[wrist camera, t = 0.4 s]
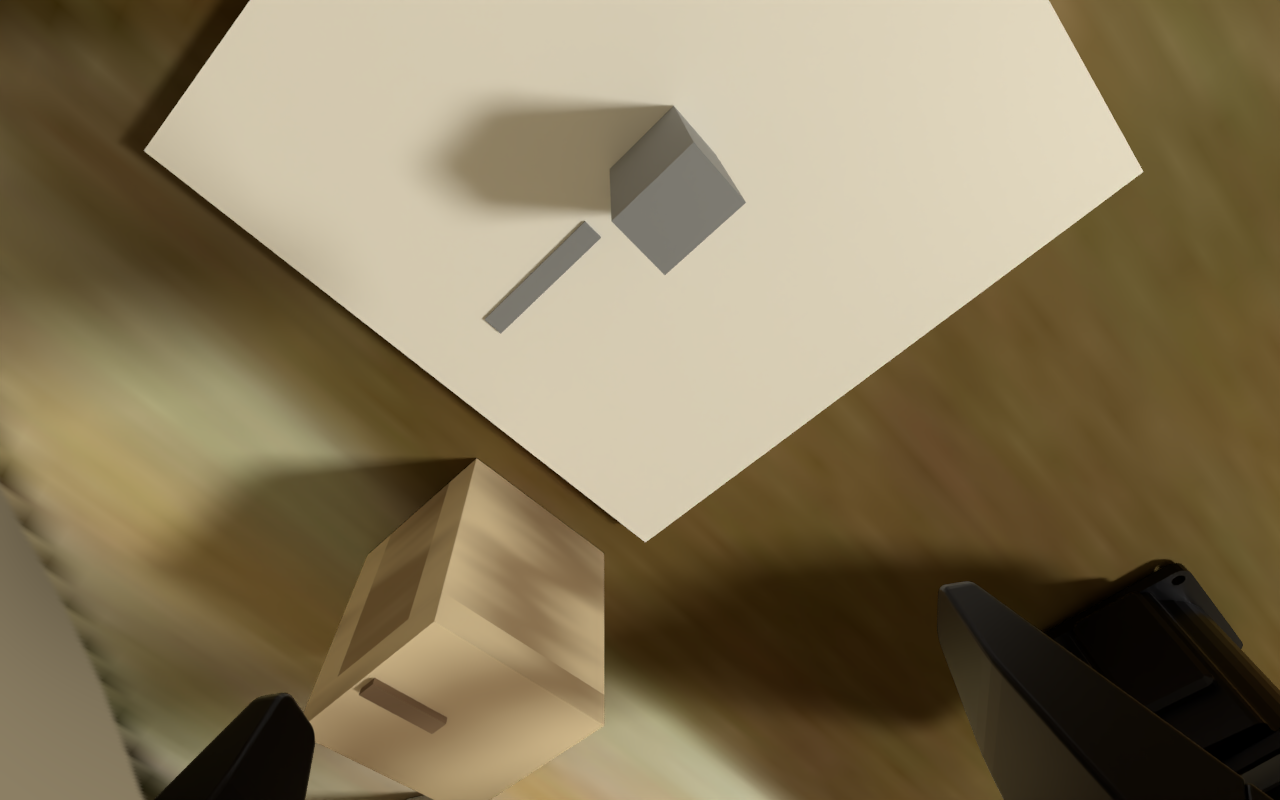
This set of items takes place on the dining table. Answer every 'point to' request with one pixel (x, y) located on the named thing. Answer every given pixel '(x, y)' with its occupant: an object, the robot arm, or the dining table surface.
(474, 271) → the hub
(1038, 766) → the robot arm
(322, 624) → the dining table surface
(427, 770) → the cardboard box
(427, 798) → the coffee cup
